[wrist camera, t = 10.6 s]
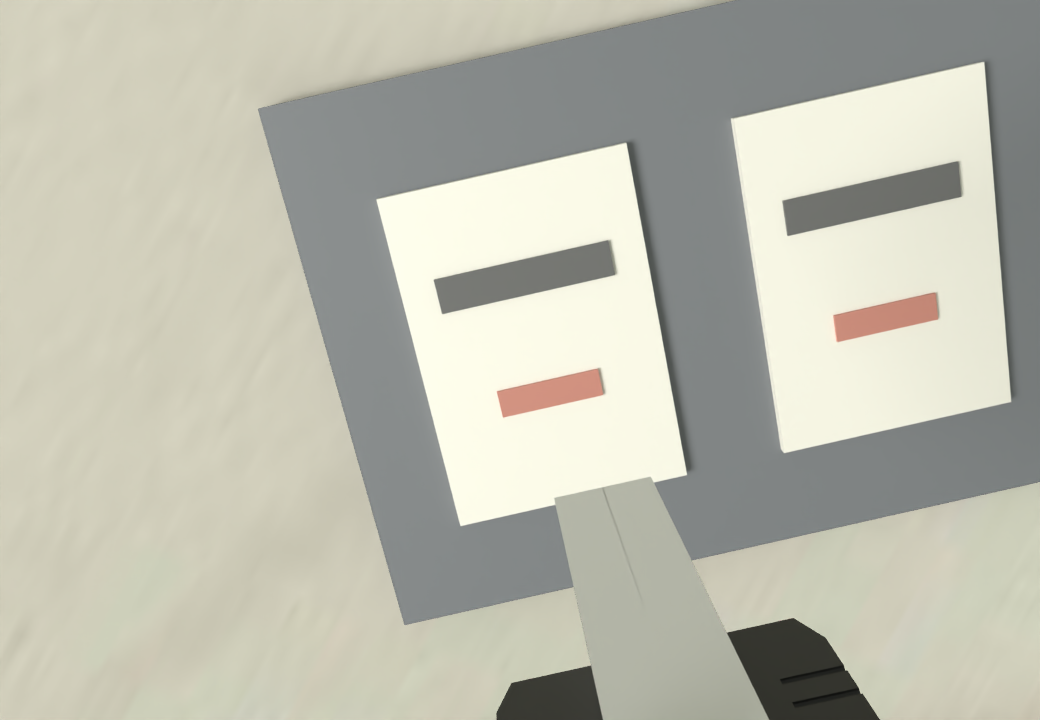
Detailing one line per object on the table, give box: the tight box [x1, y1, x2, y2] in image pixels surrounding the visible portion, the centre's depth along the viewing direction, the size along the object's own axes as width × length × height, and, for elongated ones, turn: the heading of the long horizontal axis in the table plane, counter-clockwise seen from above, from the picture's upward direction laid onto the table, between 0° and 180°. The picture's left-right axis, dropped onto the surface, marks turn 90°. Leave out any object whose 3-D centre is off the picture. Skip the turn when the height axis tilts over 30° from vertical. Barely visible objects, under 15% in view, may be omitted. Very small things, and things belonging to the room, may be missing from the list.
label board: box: [258, 0, 1040, 625], centre depth 28 cm, size 22×16×1 cm
